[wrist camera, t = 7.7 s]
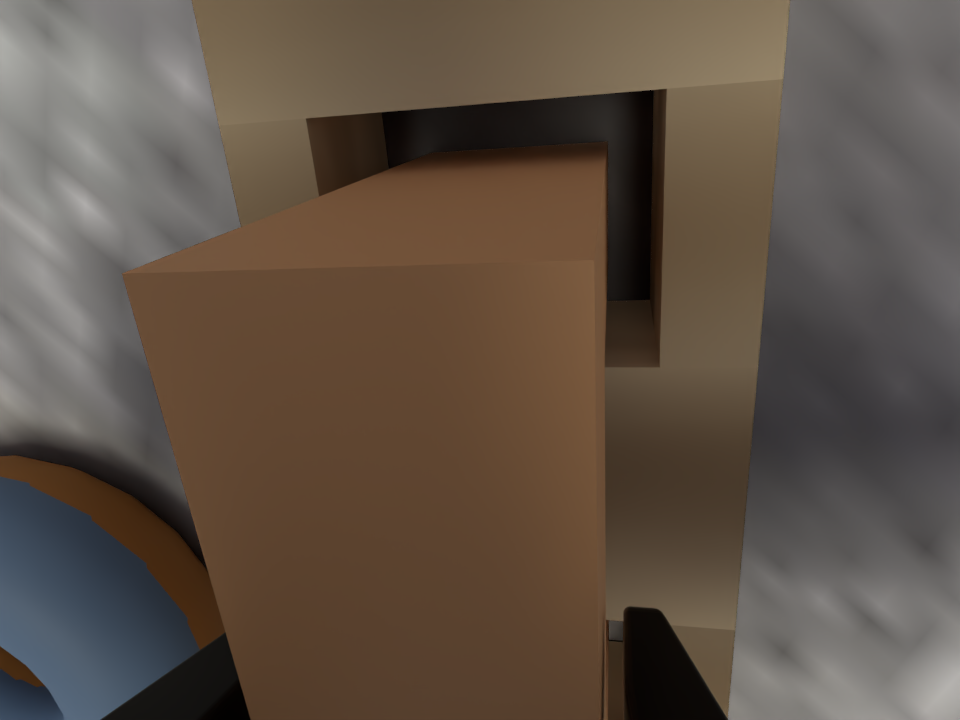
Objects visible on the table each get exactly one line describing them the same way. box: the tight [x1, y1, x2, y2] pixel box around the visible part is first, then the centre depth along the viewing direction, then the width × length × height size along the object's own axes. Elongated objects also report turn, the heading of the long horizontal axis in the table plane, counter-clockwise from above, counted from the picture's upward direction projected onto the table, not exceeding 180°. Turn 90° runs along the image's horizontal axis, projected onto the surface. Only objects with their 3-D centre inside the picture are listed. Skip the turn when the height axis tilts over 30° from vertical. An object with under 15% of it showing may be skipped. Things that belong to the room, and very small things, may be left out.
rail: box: [192, 0, 790, 720], centre depth 12 cm, size 18×7×3 cm, turn 5°
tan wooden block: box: [122, 141, 609, 720], centre depth 9 cm, size 10×3×8 cm, turn 5°
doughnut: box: [0, 455, 225, 720], centre depth 16 cm, size 10×10×5 cm
